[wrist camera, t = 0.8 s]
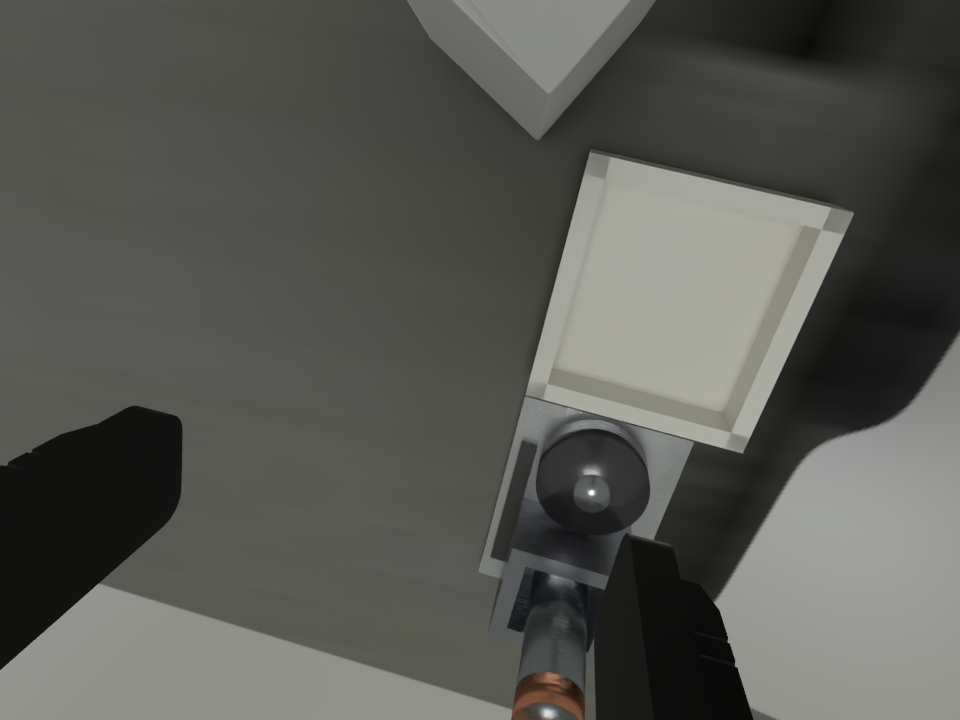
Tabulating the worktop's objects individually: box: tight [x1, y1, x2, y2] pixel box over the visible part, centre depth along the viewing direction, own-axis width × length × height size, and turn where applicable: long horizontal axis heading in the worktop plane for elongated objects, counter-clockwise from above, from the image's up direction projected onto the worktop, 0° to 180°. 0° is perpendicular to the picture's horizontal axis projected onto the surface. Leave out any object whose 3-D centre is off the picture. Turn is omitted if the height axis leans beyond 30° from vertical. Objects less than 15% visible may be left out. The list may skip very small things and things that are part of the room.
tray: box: [526, 148, 854, 453], centre depth 31 cm, size 13×12×3 cm
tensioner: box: [479, 394, 694, 668], centre depth 36 cm, size 14×10×6 cm
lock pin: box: [511, 569, 588, 720], centre depth 33 cm, size 3×3×12 cm
